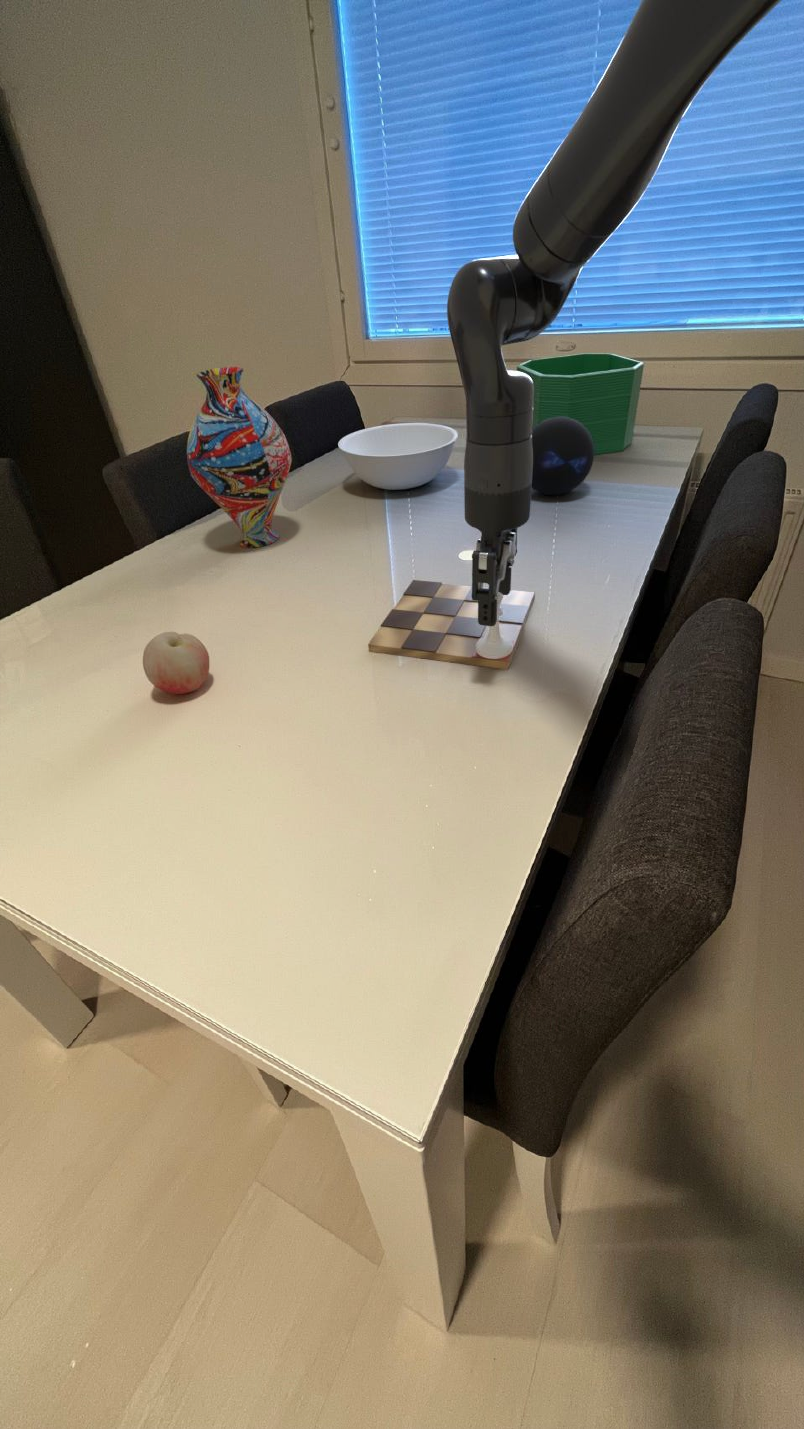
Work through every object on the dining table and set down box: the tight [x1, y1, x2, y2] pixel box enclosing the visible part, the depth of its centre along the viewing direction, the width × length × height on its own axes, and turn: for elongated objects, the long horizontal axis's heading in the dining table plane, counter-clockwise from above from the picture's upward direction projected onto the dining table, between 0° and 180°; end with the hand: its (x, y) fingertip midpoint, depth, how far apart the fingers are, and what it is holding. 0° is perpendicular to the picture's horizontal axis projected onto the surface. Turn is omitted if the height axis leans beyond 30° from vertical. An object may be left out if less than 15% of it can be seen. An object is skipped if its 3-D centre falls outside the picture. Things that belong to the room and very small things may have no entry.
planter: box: [516, 352, 645, 456], centre depth 152 cm, size 26×26×18 cm
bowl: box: [337, 422, 459, 491], centre depth 140 cm, size 27×27×10 cm
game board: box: [367, 579, 536, 670], centre depth 89 cm, size 20×20×1 cm
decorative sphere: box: [531, 417, 595, 496], centre depth 125 cm, size 15×15×15 cm
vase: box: [186, 366, 292, 548], centre depth 113 cm, size 19×19×30 cm
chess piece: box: [476, 592, 512, 659], centre depth 78 cm, size 5×5×10 cm
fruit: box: [142, 631, 211, 695], centre depth 80 cm, size 8×8×8 cm
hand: (494, 608), depth 78 cm, fingers open, 8 cm apart
